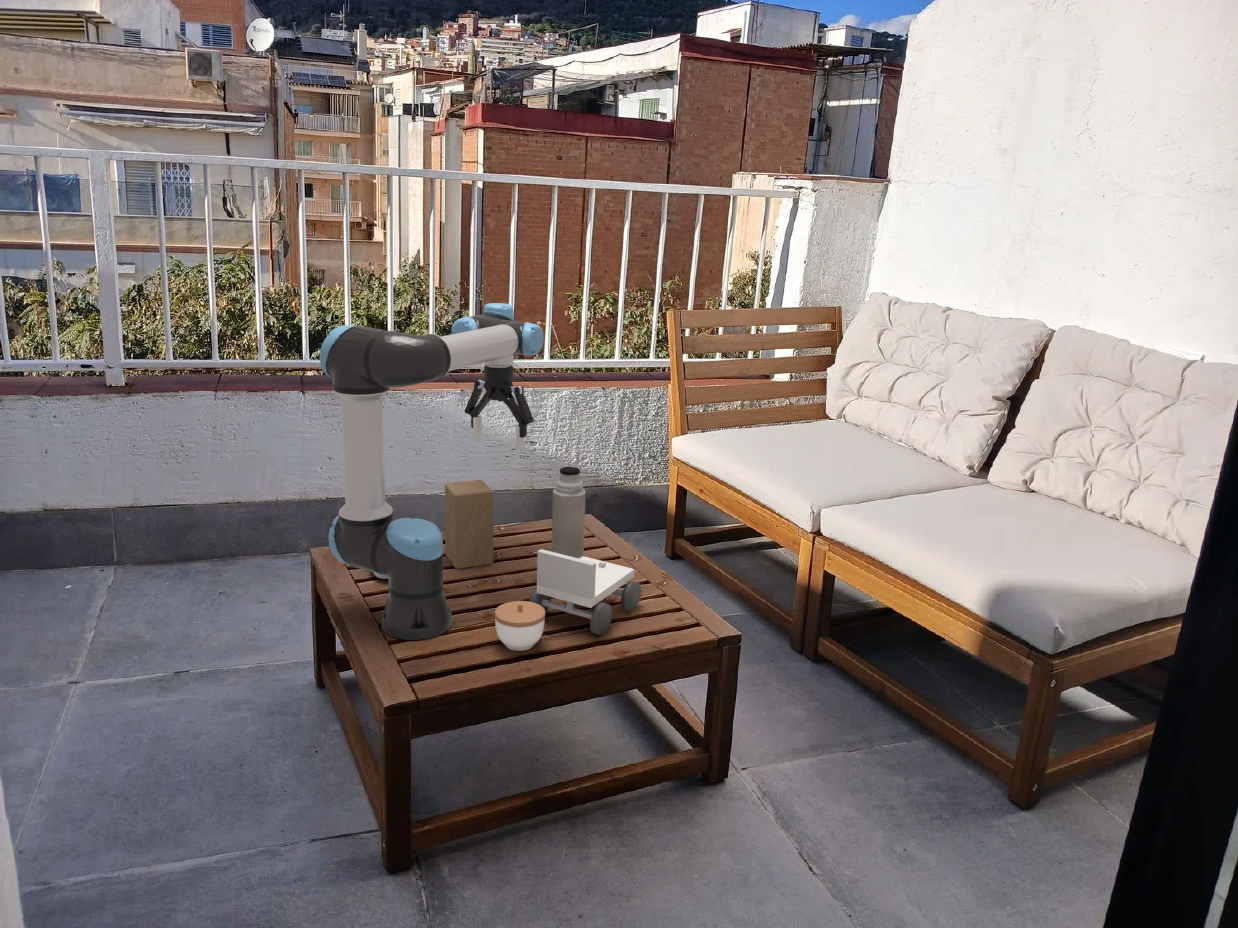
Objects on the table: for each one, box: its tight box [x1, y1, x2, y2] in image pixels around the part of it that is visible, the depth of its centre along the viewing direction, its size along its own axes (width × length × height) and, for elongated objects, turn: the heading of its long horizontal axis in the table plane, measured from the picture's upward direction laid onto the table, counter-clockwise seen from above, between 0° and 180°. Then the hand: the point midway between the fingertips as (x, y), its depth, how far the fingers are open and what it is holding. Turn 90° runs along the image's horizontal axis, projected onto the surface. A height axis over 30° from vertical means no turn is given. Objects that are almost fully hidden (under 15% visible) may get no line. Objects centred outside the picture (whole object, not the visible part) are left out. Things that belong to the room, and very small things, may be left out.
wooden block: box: [444, 479, 494, 570], centre depth 250 cm, size 10×10×20 cm
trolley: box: [528, 548, 642, 636], centre depth 223 cm, size 21×18×17 cm
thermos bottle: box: [551, 466, 586, 559], centre depth 242 cm, size 8×8×28 cm
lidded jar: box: [494, 600, 546, 652], centre depth 208 cm, size 11×11×9 cm
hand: (498, 445), depth 255 cm, fingers open, 13 cm apart
